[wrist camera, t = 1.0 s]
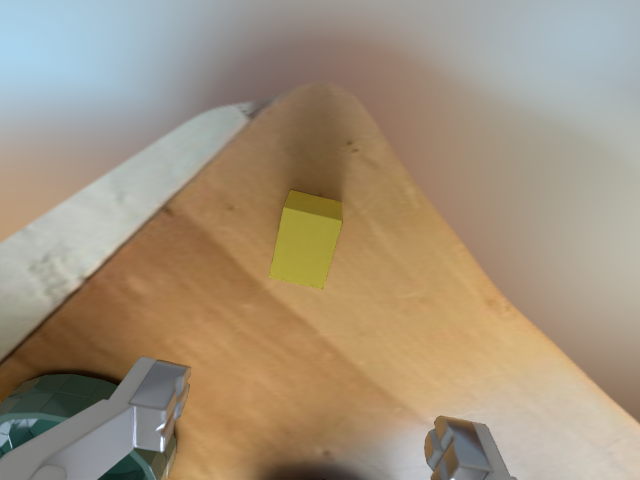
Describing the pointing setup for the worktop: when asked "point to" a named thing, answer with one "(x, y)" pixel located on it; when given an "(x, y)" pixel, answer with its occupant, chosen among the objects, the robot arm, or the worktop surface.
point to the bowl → (61, 404)
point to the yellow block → (306, 239)
